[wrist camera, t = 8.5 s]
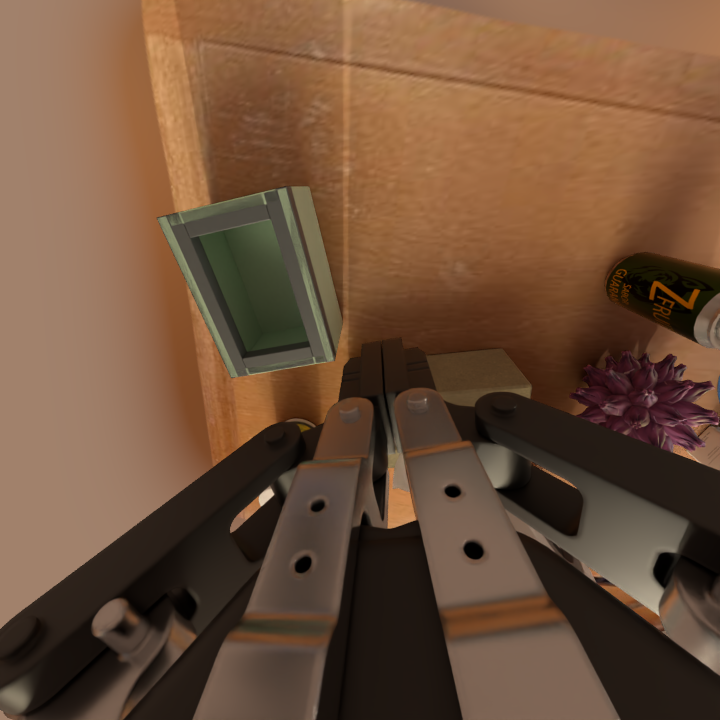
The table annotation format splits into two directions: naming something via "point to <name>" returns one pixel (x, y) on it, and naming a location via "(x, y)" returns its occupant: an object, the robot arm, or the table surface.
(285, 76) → the table surface
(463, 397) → the tissue box
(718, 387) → the block
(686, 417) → the flower
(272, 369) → the pale green open box
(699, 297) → the beer can
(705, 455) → the ink box
